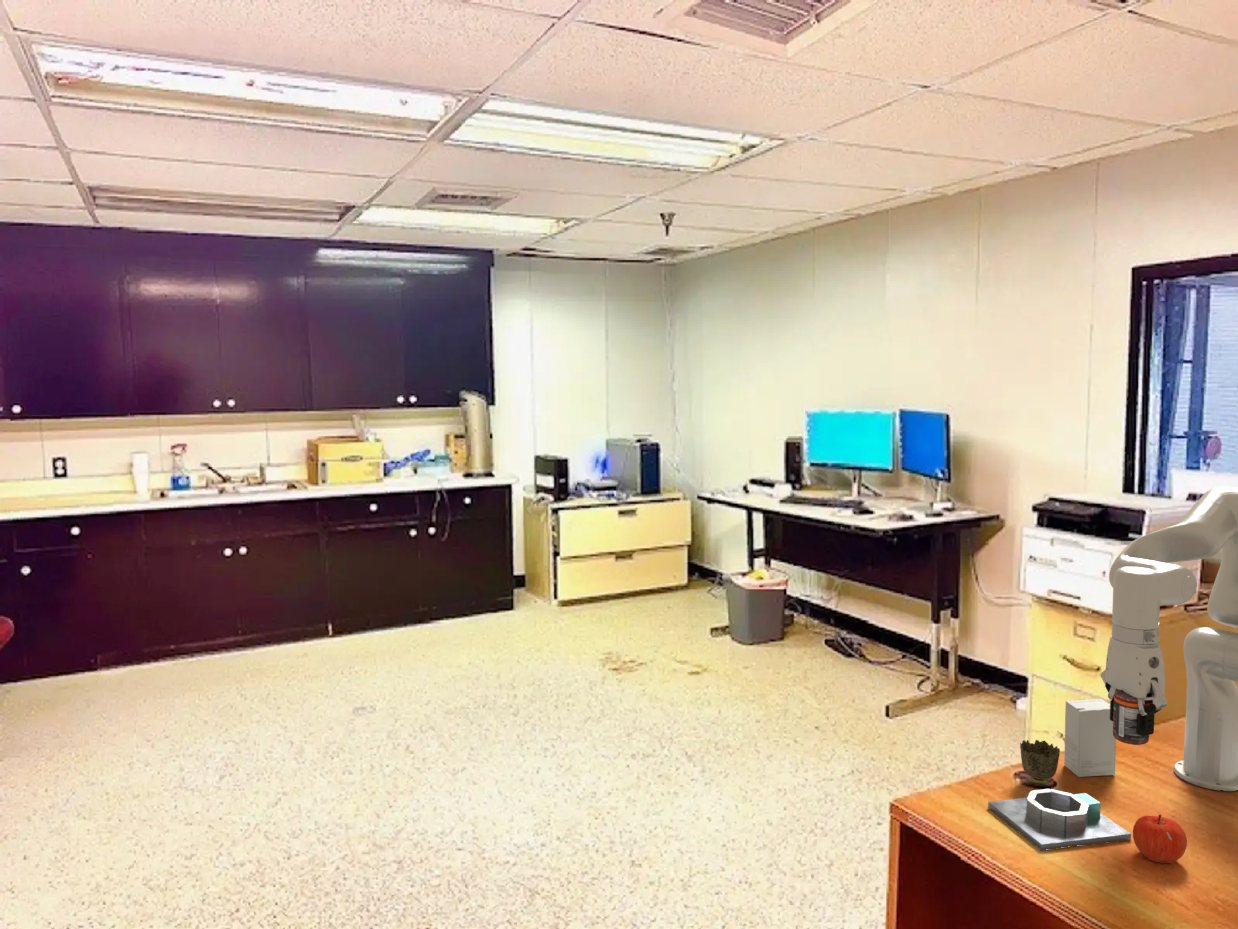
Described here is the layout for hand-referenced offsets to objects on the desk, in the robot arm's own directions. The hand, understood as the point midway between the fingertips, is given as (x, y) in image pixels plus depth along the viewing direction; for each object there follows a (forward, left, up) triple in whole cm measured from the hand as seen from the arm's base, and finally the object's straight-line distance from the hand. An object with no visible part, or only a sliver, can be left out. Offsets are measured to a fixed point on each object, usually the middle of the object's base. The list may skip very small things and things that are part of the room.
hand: (1131, 726), depth 164 cm
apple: (+5, +13, -18) cm, 23 cm away
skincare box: (-7, -19, -18) cm, 27 cm away
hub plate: (+14, -1, -18) cm, 23 cm away
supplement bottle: (0, 0, -3) cm, 3 cm away
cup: (+7, -16, -18) cm, 25 cm away
